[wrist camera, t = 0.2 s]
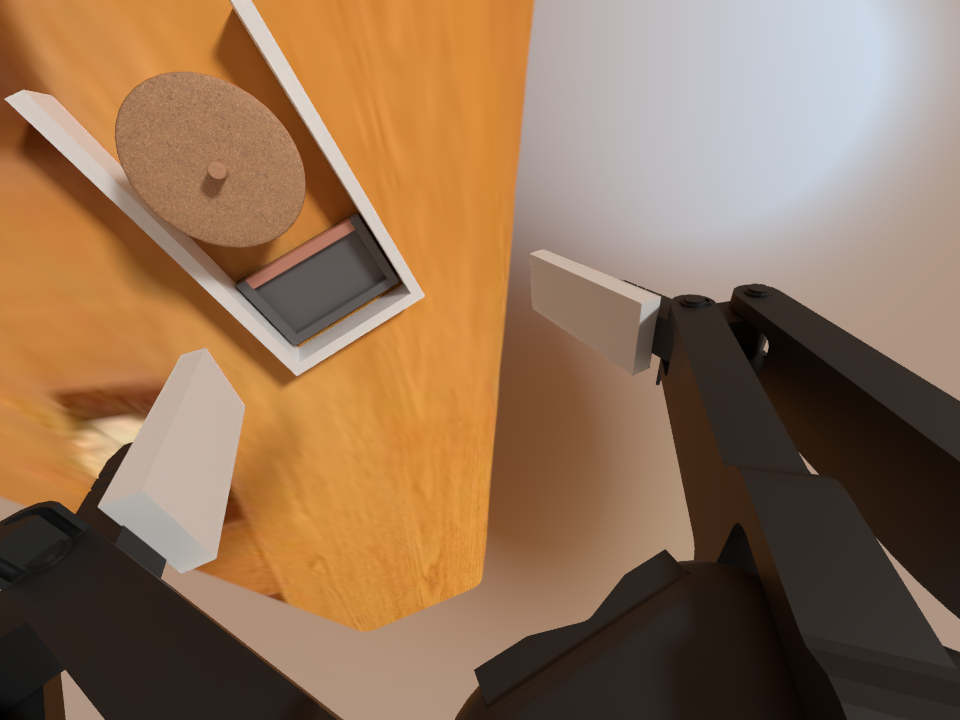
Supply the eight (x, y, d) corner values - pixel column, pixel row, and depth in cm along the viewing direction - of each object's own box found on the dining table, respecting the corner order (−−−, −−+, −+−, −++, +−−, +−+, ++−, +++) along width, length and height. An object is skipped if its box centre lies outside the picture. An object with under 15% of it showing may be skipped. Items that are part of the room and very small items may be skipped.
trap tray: (237, 281, 35) (236, 286, 34) (355, 212, 36) (358, 215, 35) (294, 340, 40) (294, 346, 39) (396, 277, 41) (399, 281, 40)
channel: (35, 103, 25) (4, 98, 22) (247, 0, 27) (242, -16, 24) (296, 360, 41) (296, 376, 38) (416, 286, 43) (425, 296, 40)
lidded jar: (296, 242, 35) (297, 267, 28) (154, 209, 30) (110, 231, 23) (310, 121, 31) (316, 114, 24) (149, 58, 26) (94, 25, 19)
